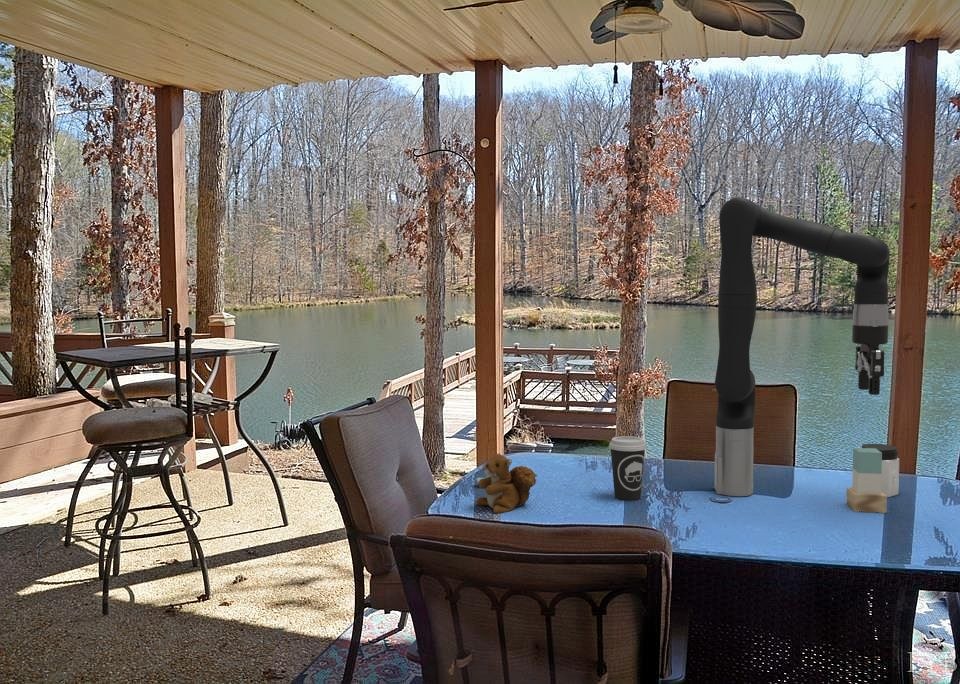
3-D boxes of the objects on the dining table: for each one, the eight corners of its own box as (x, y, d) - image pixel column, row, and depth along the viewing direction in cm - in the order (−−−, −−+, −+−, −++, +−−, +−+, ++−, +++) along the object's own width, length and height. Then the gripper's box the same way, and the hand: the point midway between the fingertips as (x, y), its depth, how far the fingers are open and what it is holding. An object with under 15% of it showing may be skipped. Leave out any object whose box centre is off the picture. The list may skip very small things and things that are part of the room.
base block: (854, 511, 181) (854, 494, 181) (846, 503, 188) (846, 487, 188) (886, 512, 180) (886, 496, 180) (877, 504, 187) (877, 488, 186)
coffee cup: (650, 494, 198) (650, 437, 197) (642, 504, 190) (642, 444, 189) (614, 490, 202) (614, 434, 201) (604, 500, 194) (604, 441, 193)
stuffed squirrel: (472, 504, 192) (472, 452, 191) (523, 498, 197) (523, 447, 196) (488, 515, 182) (487, 460, 181) (541, 508, 188) (541, 455, 187)
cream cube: (858, 493, 182) (858, 473, 181) (852, 488, 187) (852, 468, 186) (881, 494, 181) (881, 473, 180) (874, 489, 186) (875, 468, 185)
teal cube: (858, 473, 181) (858, 452, 181) (852, 468, 186) (853, 447, 186) (881, 473, 180) (881, 452, 180) (875, 468, 185) (875, 448, 185)
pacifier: (484, 483, 213) (474, 487, 208) (484, 461, 213) (474, 464, 208) (508, 486, 210) (498, 490, 204) (508, 463, 210) (498, 467, 204)
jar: (884, 499, 191) (886, 451, 190) (853, 492, 198) (854, 446, 197) (904, 493, 196) (905, 447, 195) (872, 487, 203) (873, 442, 202)
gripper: (845, 322, 189) (843, 387, 190) (861, 325, 175) (859, 395, 176) (878, 322, 187) (876, 388, 188) (897, 325, 173) (895, 396, 174)
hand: (868, 391), depth 182 cm, fingers open, 8 cm apart
